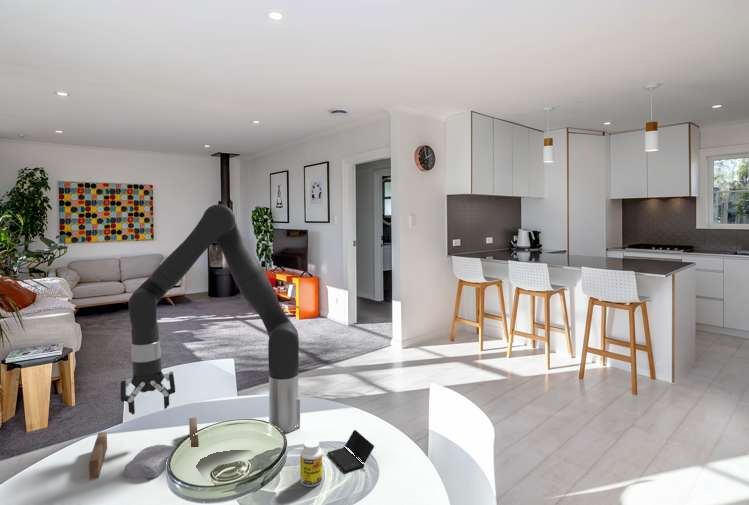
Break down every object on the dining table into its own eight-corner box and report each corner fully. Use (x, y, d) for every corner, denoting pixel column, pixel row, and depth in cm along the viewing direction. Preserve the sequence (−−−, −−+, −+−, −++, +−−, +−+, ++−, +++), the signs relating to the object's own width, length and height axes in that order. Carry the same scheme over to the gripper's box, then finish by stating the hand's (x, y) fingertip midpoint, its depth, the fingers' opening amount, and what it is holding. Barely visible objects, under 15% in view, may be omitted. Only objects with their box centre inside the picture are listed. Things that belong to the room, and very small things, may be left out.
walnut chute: (196, 432, 139) (196, 417, 138) (198, 458, 124) (198, 441, 124) (99, 449, 128) (98, 432, 128) (89, 480, 113) (88, 461, 113)
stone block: (121, 485, 115) (158, 479, 114) (118, 467, 115) (155, 461, 114) (147, 461, 127) (181, 456, 126) (144, 445, 126) (177, 439, 126)
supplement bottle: (301, 489, 111) (301, 450, 110) (299, 476, 117) (299, 439, 116) (323, 486, 112) (323, 447, 112) (320, 474, 118) (321, 436, 117)
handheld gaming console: (321, 452, 126) (341, 420, 128) (336, 459, 130) (355, 428, 133) (345, 476, 117) (366, 442, 120) (360, 482, 122) (380, 449, 124)
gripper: (173, 350, 136) (175, 401, 137) (119, 356, 130) (123, 410, 132) (173, 357, 129) (176, 411, 131) (117, 364, 123) (120, 420, 125)
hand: (149, 410), depth 131 cm, fingers open, 8 cm apart
